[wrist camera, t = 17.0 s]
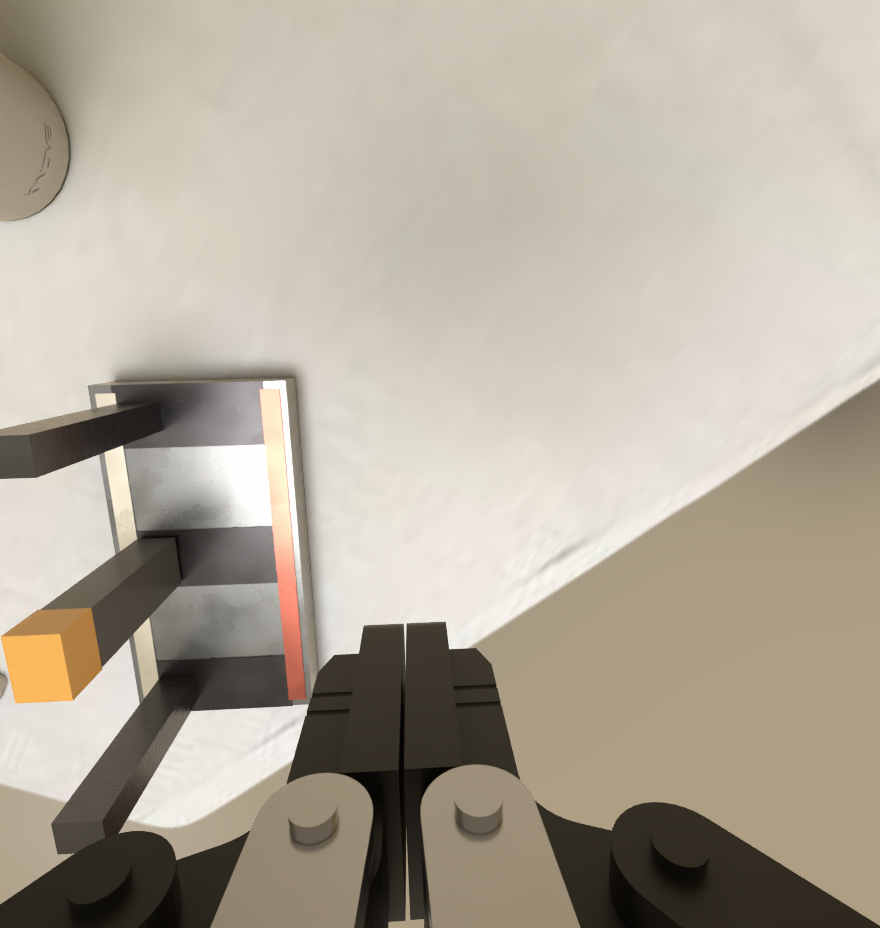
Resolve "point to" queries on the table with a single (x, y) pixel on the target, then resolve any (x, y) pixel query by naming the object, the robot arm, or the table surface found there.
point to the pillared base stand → (191, 559)
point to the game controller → (2, 684)
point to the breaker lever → (89, 622)
